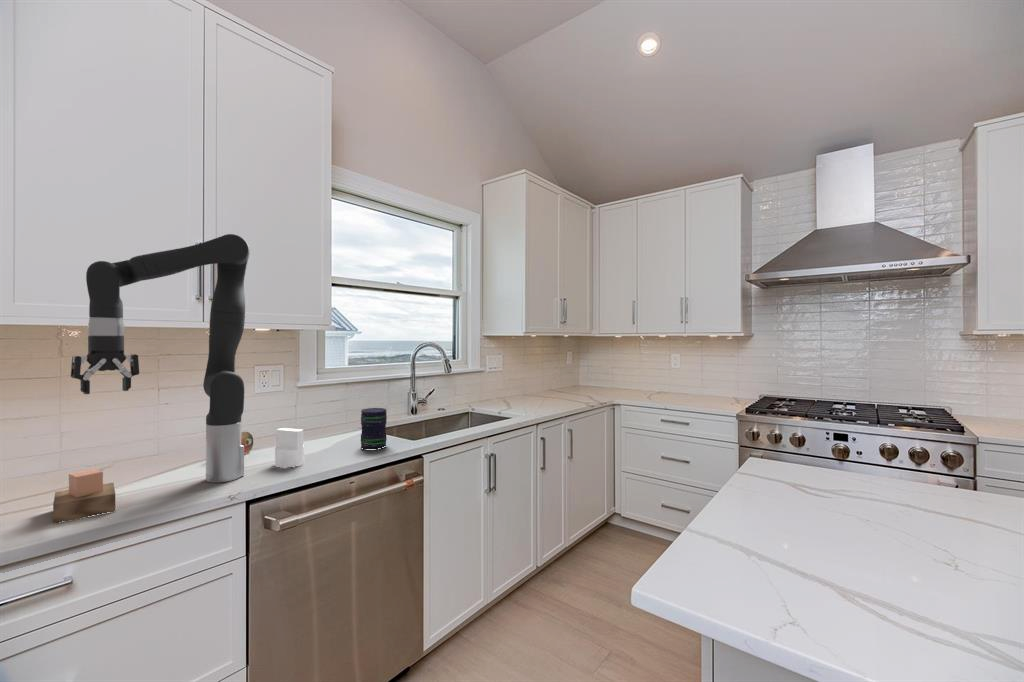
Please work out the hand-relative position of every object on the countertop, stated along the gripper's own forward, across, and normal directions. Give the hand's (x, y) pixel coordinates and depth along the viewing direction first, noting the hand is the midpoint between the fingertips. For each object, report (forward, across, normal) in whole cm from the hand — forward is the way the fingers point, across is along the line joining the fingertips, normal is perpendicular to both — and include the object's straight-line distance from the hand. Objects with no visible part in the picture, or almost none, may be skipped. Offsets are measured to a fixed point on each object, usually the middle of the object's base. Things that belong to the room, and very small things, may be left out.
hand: (106, 392), depth 127 cm
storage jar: (+28, -76, +23) cm, 84 cm away
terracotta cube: (+24, +8, +12) cm, 28 cm away
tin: (+28, -39, -8) cm, 49 cm away
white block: (+28, -44, +17) cm, 55 cm away
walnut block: (+28, +8, +12) cm, 32 cm away
